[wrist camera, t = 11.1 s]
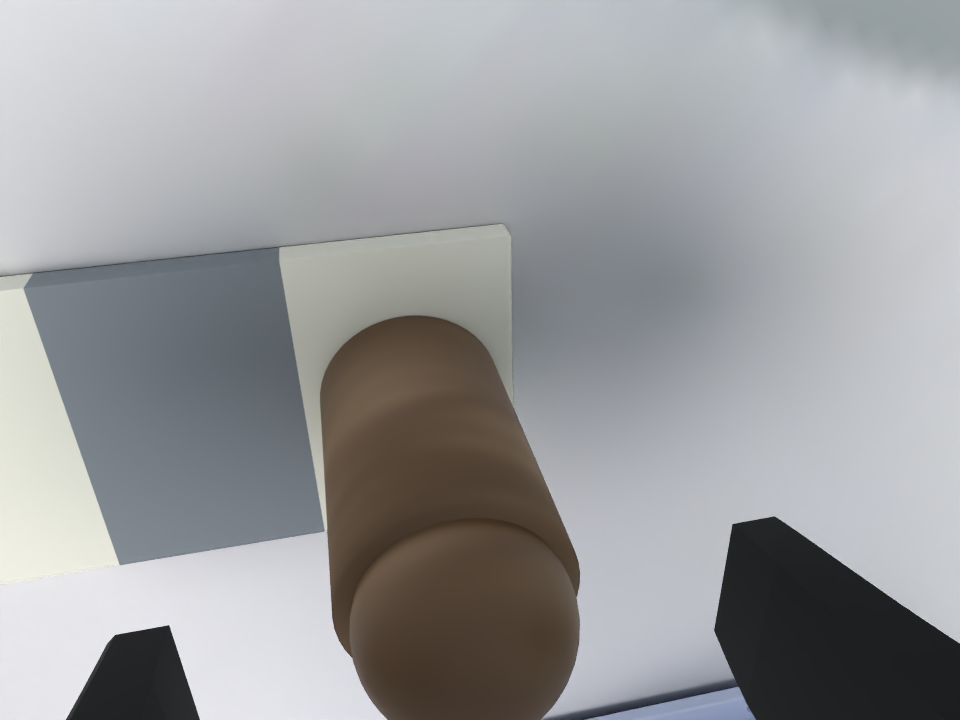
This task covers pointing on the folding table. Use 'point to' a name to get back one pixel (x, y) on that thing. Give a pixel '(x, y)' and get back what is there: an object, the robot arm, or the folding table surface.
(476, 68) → the folding table surface
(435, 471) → the pawn
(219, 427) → the track
